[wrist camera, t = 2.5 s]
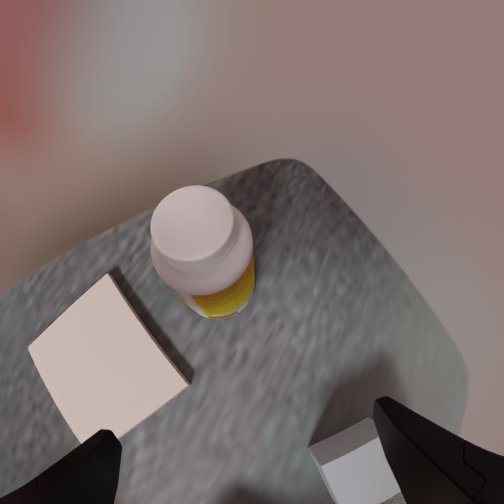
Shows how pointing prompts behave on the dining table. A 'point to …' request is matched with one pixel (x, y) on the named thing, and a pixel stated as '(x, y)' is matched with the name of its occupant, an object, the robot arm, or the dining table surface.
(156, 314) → the dining table surface
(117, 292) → the cream square tile
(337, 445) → the pale grey block
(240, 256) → the supplement bottle
